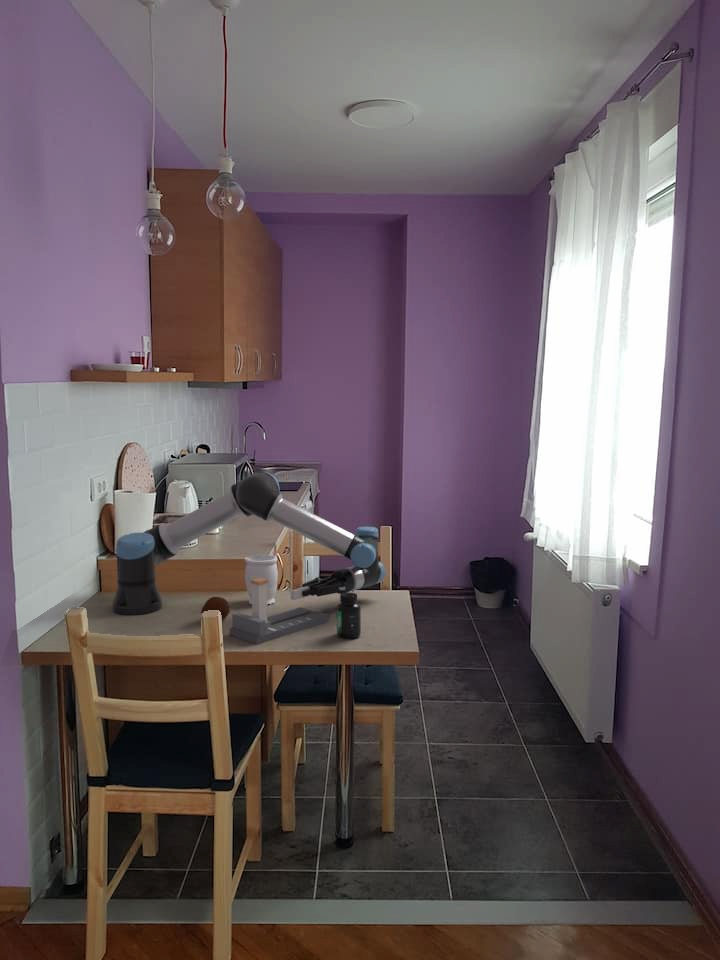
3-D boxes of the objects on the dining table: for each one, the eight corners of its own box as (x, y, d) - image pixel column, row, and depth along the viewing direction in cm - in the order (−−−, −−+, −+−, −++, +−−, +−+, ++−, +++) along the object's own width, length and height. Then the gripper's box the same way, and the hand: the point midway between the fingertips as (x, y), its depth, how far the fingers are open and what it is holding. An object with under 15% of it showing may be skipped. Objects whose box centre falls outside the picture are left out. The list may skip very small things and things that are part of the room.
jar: (281, 598, 261) (280, 554, 259) (273, 607, 250) (273, 561, 248) (250, 597, 262) (249, 553, 260) (241, 606, 252) (240, 560, 250)
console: (300, 613, 244) (300, 594, 243) (328, 621, 236) (328, 601, 235) (229, 634, 223) (229, 614, 223) (257, 644, 215) (257, 623, 215)
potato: (235, 617, 240) (235, 592, 239) (220, 628, 229) (219, 602, 228) (212, 615, 242) (212, 590, 241) (196, 626, 231) (195, 600, 230)
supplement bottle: (337, 639, 219) (337, 598, 218) (336, 632, 226) (335, 591, 224) (361, 639, 220) (361, 597, 218) (359, 631, 226) (359, 591, 225)
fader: (259, 622, 227) (258, 577, 225) (271, 626, 224) (270, 579, 222) (248, 625, 224) (248, 579, 222) (260, 629, 221) (259, 582, 219)
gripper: (361, 595, 245) (307, 611, 228) (332, 588, 254) (277, 603, 237) (361, 571, 244) (307, 586, 227) (331, 565, 253) (277, 579, 236)
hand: (292, 595), depth 232 cm, fingers closed
